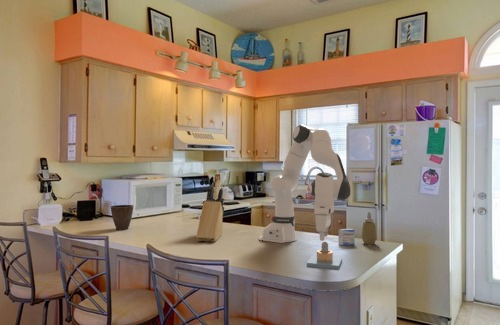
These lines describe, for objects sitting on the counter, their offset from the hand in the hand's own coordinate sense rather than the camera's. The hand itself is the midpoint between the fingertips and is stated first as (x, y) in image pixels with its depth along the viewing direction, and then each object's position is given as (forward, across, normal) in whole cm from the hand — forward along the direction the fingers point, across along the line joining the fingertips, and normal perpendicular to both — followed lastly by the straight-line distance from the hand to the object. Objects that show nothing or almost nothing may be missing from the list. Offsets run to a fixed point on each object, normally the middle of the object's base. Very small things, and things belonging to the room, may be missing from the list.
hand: (323, 238), depth 171 cm
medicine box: (+12, -44, +6) cm, 46 cm away
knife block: (+13, -37, -74) cm, 84 cm away
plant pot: (+13, -38, -143) cm, 148 cm away
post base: (+12, 0, +1) cm, 12 cm away
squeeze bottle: (+12, -50, +18) cm, 55 cm away
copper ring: (+10, 0, +1) cm, 10 cm away
